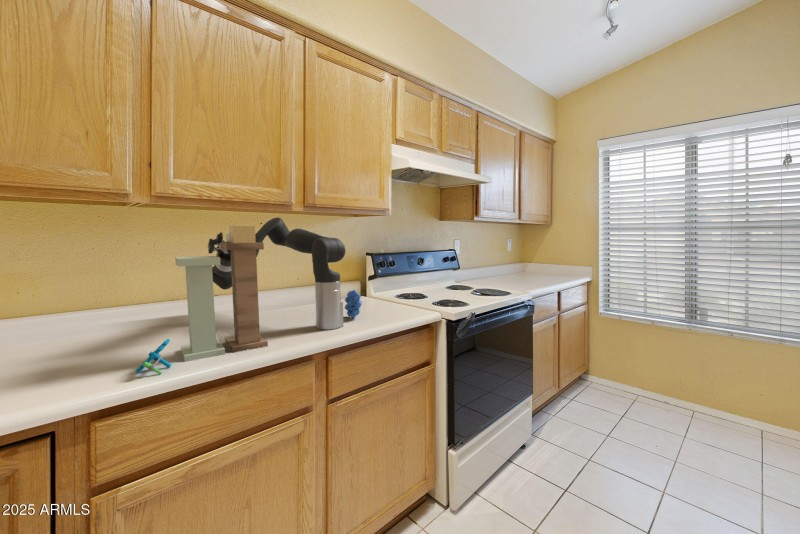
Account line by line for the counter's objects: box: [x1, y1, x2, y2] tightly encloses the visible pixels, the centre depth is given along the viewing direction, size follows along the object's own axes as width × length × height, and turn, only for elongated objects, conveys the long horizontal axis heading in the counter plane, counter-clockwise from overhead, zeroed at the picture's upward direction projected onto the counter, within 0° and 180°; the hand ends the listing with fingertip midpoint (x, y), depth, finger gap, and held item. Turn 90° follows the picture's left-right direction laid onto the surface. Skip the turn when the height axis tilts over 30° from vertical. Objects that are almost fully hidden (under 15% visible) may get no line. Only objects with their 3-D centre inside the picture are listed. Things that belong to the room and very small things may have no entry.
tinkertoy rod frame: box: [134, 338, 173, 375], centre depth 89 cm, size 11×6×10 cm
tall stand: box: [220, 242, 269, 353], centre depth 108 cm, size 12×10×32 cm
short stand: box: [174, 255, 226, 362], centre depth 101 cm, size 12×10×28 cm
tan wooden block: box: [225, 225, 256, 243], centre depth 111 cm, size 21×6×5 cm, turn 36°
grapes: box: [344, 289, 363, 319], centre depth 144 cm, size 12×7×12 cm, turn 37°
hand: (234, 234), depth 114 cm, fingers open, 7 cm apart
